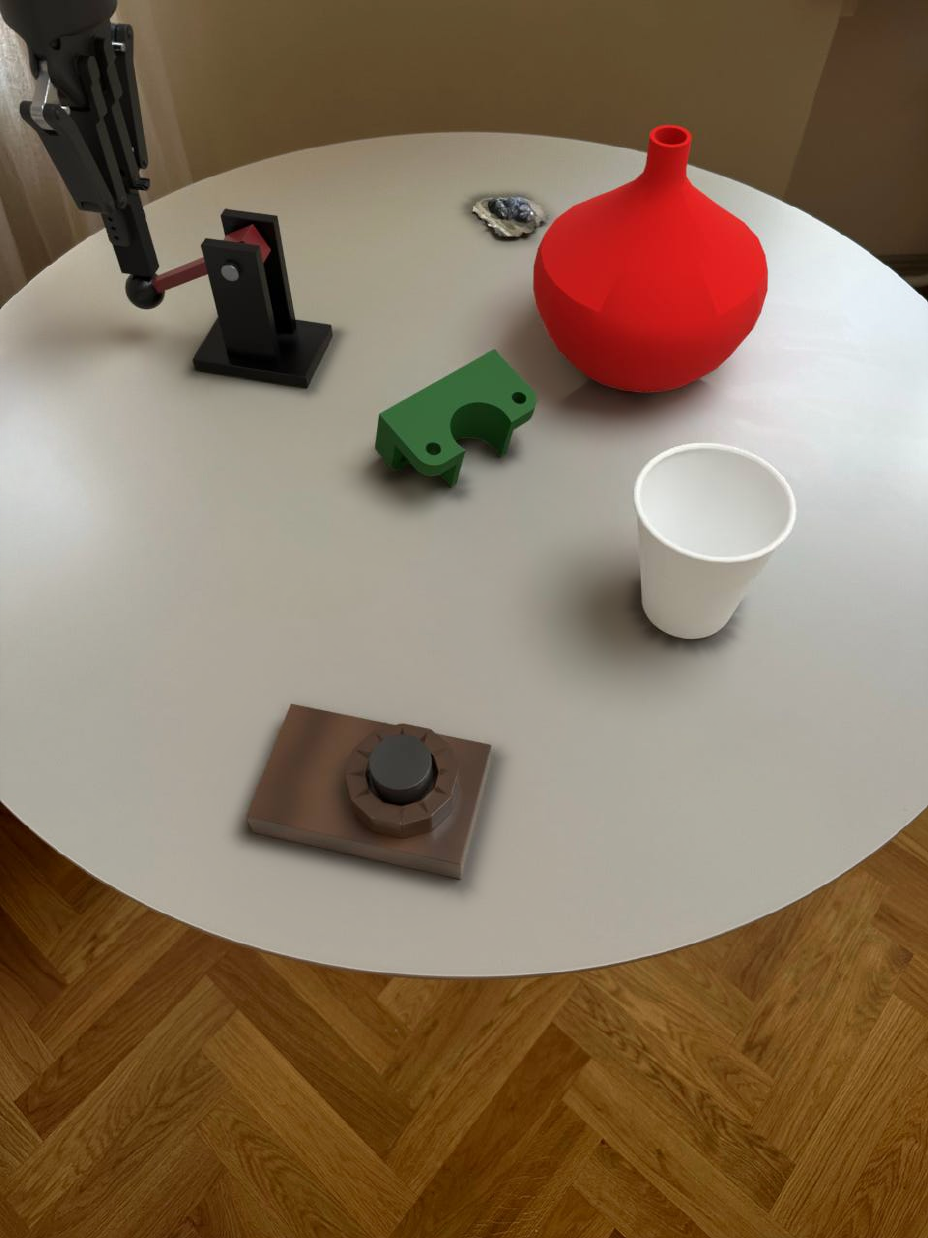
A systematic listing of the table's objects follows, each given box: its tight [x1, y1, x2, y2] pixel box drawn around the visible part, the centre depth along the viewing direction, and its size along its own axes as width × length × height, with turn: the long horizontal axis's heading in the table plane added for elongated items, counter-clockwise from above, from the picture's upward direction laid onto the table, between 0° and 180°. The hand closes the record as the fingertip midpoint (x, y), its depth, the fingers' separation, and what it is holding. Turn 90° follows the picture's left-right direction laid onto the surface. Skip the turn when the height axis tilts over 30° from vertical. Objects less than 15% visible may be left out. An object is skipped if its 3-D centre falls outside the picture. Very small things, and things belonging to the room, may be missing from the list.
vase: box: [532, 124, 769, 394], centre depth 81 cm, size 18×18×19 cm
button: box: [369, 734, 433, 803], centre depth 60 cm, size 4×4×2 cm
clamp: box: [374, 348, 538, 488], centre depth 79 cm, size 12×6×9 cm, turn 124°
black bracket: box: [192, 208, 334, 389], centre depth 84 cm, size 10×7×12 cm
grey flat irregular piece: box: [471, 196, 551, 238], centre depth 99 cm, size 7×8×2 cm
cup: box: [632, 442, 797, 640], centre depth 68 cm, size 10×10×11 cm
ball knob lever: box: [124, 224, 271, 310], centre depth 84 cm, size 14×3×3 cm, turn 76°
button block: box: [246, 703, 492, 880], centre depth 62 cm, size 13×8×4 cm, turn 76°
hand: (140, 269), depth 85 cm, fingers closed
